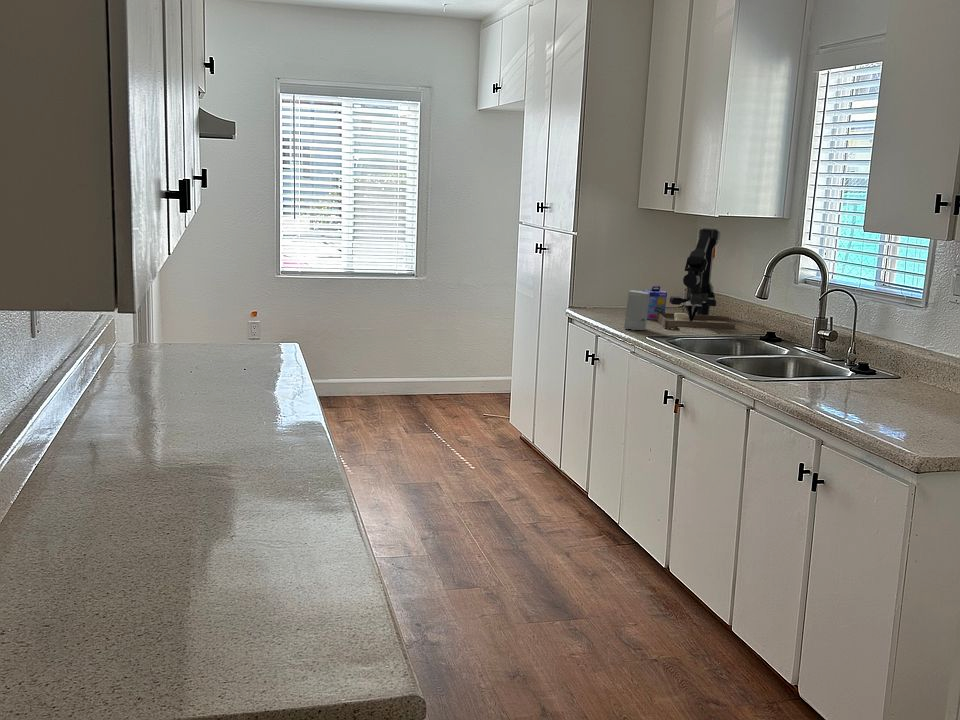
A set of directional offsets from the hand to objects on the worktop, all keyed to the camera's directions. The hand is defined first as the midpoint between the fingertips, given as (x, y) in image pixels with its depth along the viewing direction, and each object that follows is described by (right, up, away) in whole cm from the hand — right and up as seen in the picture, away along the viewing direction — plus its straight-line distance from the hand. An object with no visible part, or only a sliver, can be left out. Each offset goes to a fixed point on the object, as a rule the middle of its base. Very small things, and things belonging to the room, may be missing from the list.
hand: (690, 321), depth 397 cm
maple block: (-4, 0, 0) cm, 4 cm away
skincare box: (-26, -4, -12) cm, 29 cm away
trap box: (+2, -2, +1) cm, 3 cm away
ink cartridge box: (-14, +2, +15) cm, 20 cm away
